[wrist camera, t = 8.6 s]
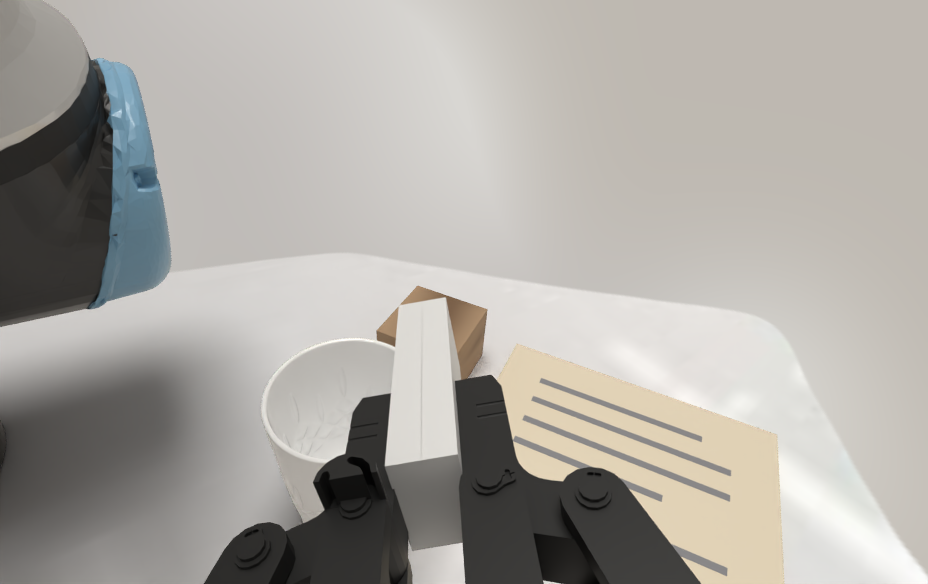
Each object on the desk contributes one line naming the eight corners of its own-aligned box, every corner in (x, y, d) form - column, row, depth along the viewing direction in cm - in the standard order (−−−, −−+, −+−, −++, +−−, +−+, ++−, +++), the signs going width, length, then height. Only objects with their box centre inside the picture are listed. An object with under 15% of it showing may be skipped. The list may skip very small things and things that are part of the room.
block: (379, 379, 39) (376, 330, 36) (416, 332, 44) (417, 285, 41) (449, 407, 38) (453, 359, 35) (481, 356, 42) (487, 309, 39)
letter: (435, 494, 32) (435, 492, 32) (516, 345, 43) (516, 343, 43) (785, 656, 26) (787, 654, 26) (775, 436, 37) (777, 434, 37)
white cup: (336, 601, 27) (315, 498, 21) (267, 494, 31) (231, 384, 25) (449, 508, 31) (458, 400, 25) (374, 426, 36) (367, 318, 30)
